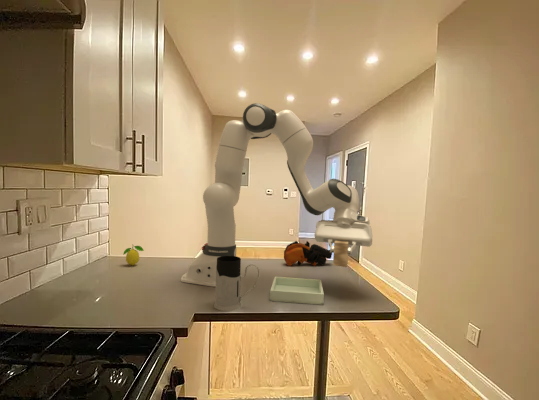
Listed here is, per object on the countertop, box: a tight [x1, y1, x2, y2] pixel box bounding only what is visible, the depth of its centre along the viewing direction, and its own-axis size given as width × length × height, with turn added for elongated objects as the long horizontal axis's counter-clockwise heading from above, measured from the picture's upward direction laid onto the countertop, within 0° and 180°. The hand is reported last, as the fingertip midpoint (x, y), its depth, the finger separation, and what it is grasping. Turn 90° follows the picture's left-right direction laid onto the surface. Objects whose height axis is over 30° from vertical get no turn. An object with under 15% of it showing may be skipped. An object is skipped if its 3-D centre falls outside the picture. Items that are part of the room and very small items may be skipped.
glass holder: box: [213, 255, 260, 312], centre depth 95 cm, size 9×14×15 cm, turn 82°
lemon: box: [123, 245, 145, 267], centre depth 137 cm, size 7×6×10 cm
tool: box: [283, 240, 333, 267], centre depth 148 cm, size 8×23×15 cm, turn 99°
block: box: [332, 240, 350, 268], centre depth 105 cm, size 4×4×8 cm
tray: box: [269, 276, 325, 306], centre depth 107 cm, size 18×16×4 cm
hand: (340, 252), depth 104 cm, fingers closed on block, 4 cm apart
